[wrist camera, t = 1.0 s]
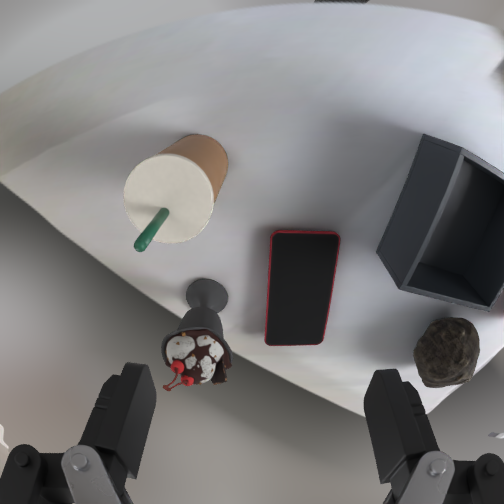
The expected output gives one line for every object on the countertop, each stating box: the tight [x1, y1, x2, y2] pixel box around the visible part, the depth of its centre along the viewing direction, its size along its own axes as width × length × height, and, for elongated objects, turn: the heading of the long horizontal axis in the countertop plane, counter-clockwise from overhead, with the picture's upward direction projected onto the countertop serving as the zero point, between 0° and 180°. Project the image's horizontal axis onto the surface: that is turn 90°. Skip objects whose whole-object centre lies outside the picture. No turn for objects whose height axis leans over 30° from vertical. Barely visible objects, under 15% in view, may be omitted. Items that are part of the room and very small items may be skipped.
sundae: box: [161, 279, 233, 391], centre depth 31 cm, size 7×7×15 cm
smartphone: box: [265, 230, 340, 346], centre depth 36 cm, size 7×1×15 cm
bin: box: [376, 134, 504, 312], centre depth 29 cm, size 14×14×8 cm
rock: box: [413, 317, 480, 388], centre depth 36 cm, size 10×11×10 cm
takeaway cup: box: [124, 134, 228, 252], centre depth 23 cm, size 6×6×17 cm
